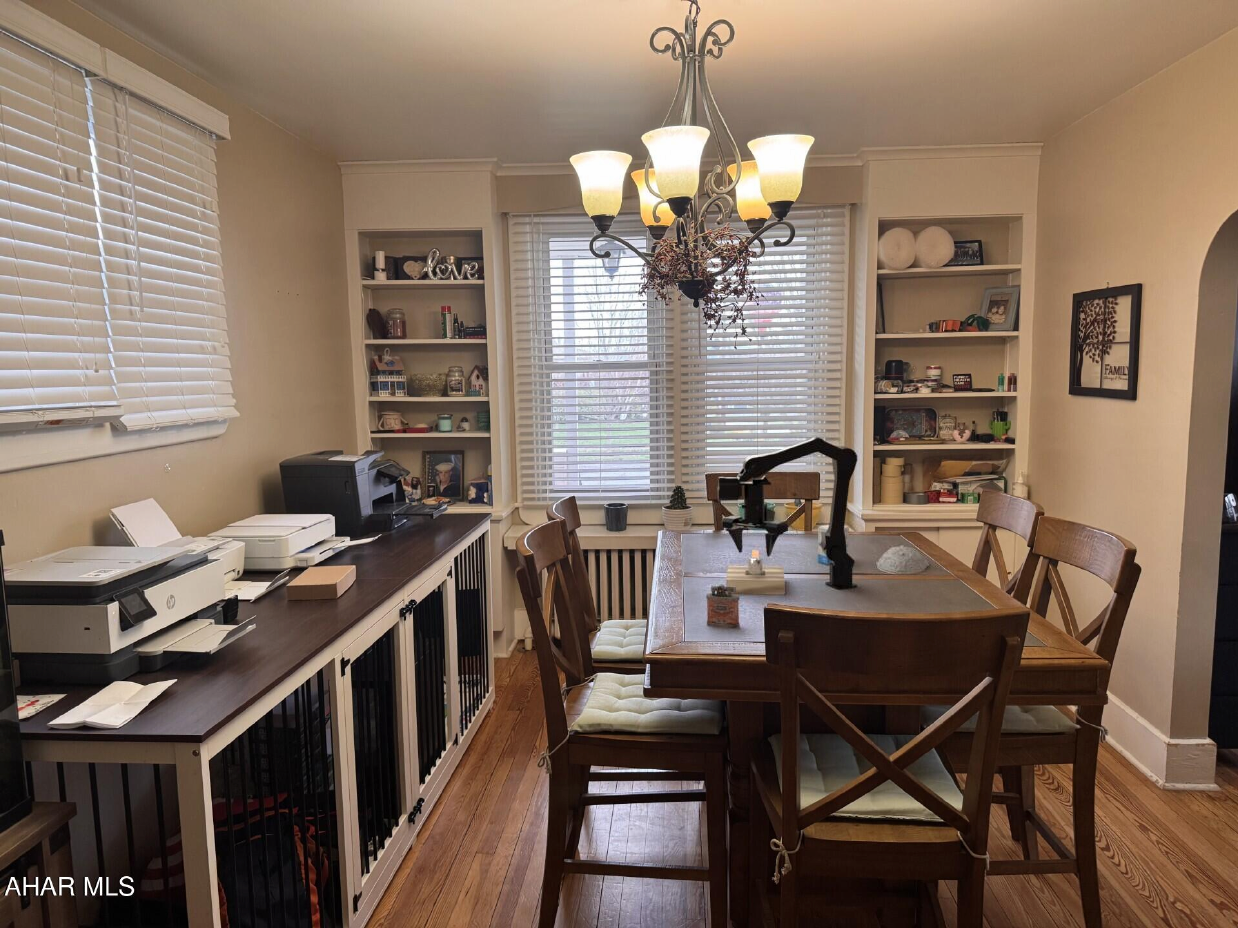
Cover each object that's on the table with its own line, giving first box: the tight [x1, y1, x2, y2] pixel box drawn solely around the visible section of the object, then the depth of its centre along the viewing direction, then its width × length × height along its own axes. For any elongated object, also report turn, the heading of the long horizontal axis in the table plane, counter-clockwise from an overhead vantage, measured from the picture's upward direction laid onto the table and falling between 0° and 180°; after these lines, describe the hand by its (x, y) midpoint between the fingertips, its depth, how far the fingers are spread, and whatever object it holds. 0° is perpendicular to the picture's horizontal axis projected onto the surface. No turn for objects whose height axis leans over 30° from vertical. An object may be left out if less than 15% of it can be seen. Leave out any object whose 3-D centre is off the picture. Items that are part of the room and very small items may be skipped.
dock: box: [725, 565, 786, 595], centre depth 226 cm, size 16×16×4 cm
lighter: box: [705, 584, 741, 629], centre depth 191 cm, size 8×3×10 cm, turn 69°
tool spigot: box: [747, 557, 764, 575], centre depth 226 cm, size 4×4×8 cm
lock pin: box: [751, 549, 760, 558], centre depth 240 cm, size 12×2×2 cm, turn 170°
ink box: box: [817, 524, 850, 566], centre depth 252 cm, size 9×5×12 cm, turn 114°
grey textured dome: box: [875, 545, 930, 575], centre depth 247 cm, size 16×25×7 cm, turn 156°
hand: (754, 554), depth 226 cm, fingers open, 9 cm apart
